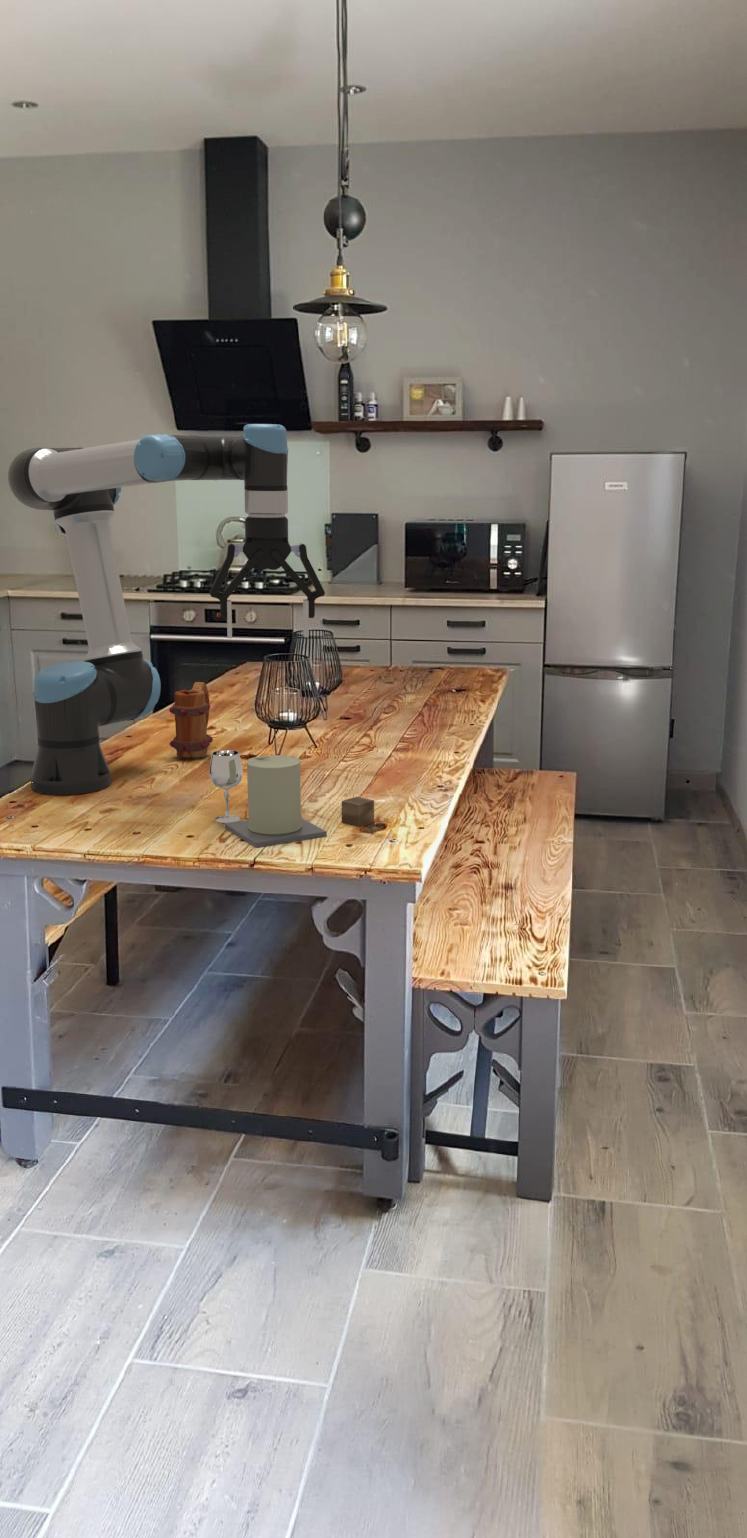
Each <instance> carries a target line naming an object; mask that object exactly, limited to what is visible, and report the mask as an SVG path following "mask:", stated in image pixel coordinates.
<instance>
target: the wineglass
mask: <svg viewBox="0 0 747 1538" xmlns="http://www.w3.org/2000/svg"><path fill="white" fill-rule="evenodd" d="M209 761H210V762H209V770H208V771H209V773H208V774H209V778H210V781H211V783H212V784H213V785H214V786H215V787H217V788H220V789H224V791H223V796H224V800H225V813H224V815H219V816H217V817H215V818H214V821H215V822H217V823H222V824H224V823H230V822H236V821H241V818H240V817H239V816H237V815H233V814H231V813H230V810H229V800H230V795H231V793H230V790H229V789H233V788H235V787H236V786H238V785H239V784H241V782H242V778H243V773H244V772H243V771H244V770H243V763H242V759H241V755H240V752H239V751H237V750H232V749H220V750H216V751H213V752H211V757H210V760H209Z"/></svg>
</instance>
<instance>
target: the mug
mask: <svg viewBox="0 0 747 1538" xmlns="http://www.w3.org/2000/svg"><path fill="white" fill-rule="evenodd" d="M173 698H174V699H173V700H174V703H173V705H172V706H171V707H169V710H168V711H169V712H170V713H171V714H173V715H174V721H175V722H174V724H175V736H174V737H173V739H172V740H171V741H170V742H169V746H170V747H171V748H173V749H175V750H176V756H177V757H178V758H181V759H185V760H195V759H197V760H198V759H200V758H204V757H205V756H207V754H208V750H209V749H208V748H209V747H210V746H211V743H212V742H213V741H214V738H213V737H212V736H210V735H209V734H208V732H207V731H208V730H207V729H208V724H209V720H210V719H209V717H210V708H211V704H210V695H209V690H208V687H207V683H205V682H204V681H202V682H201V681H195V682H194V683H193V685H192V689H189V690H187V689H181V690H179V691H175V692H174V697H173Z"/></svg>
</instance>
